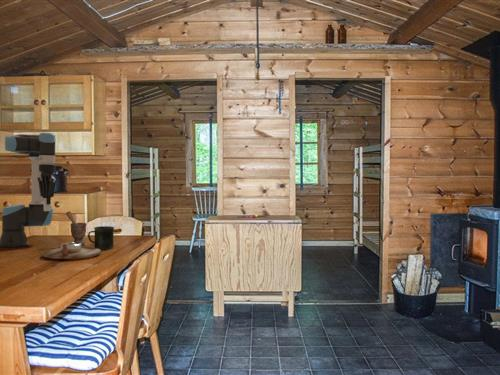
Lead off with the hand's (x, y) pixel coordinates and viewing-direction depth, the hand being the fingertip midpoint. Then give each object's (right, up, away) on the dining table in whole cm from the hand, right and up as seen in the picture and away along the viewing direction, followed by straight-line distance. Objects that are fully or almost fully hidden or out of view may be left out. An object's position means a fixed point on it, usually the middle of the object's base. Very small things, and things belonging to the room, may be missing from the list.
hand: (47, 210), depth 225 cm
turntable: (+9, -24, +9) cm, 27 cm away
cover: (+9, -22, +9) cm, 25 cm away
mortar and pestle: (-1, -23, +39) cm, 45 cm away
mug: (+17, -23, +31) cm, 42 cm away
